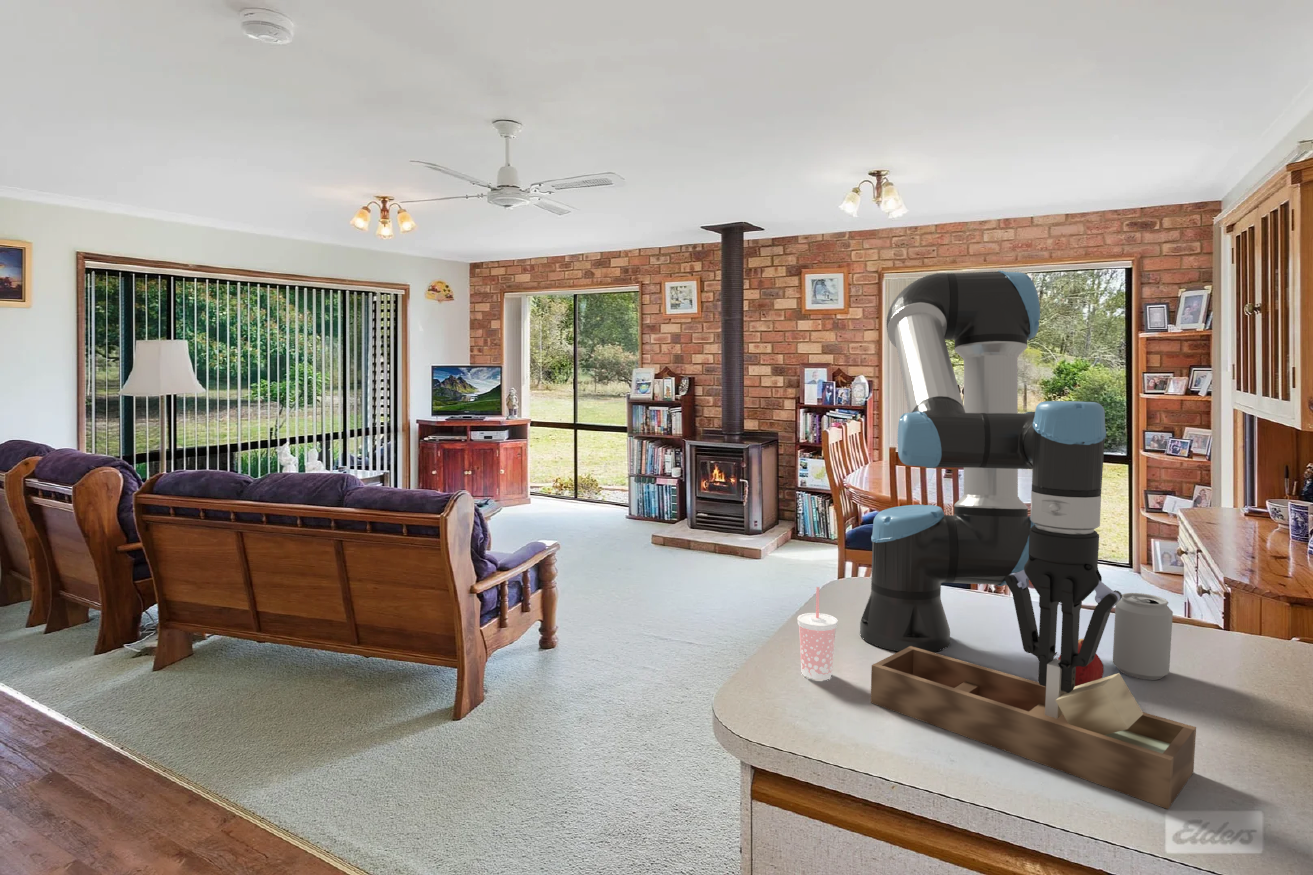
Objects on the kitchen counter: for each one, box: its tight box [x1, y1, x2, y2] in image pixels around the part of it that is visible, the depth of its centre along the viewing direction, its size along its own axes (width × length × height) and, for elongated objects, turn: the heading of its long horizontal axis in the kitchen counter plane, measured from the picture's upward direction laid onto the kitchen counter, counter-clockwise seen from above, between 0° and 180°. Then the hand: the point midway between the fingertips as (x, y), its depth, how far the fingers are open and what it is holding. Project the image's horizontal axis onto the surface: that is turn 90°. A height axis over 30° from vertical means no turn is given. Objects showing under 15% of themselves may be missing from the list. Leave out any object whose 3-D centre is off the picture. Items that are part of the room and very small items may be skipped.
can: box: [1112, 592, 1174, 681], centre depth 117 cm, size 8×8×12 cm
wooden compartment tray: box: [870, 646, 1197, 810], centre depth 98 cm, size 36×11×6 cm, turn 43°
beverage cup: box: [796, 586, 839, 679], centre depth 116 cm, size 6×6×14 cm
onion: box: [1057, 638, 1104, 686], centre depth 110 cm, size 6×6×8 cm
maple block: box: [1056, 672, 1144, 735], centre depth 90 cm, size 6×6×5 cm
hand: (1055, 713), depth 94 cm, fingers closed
